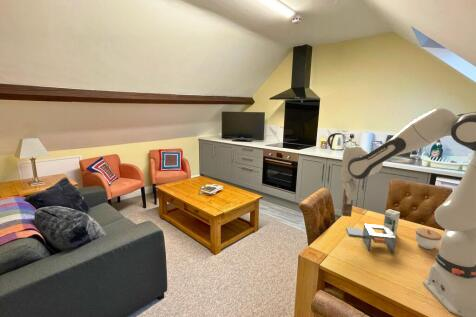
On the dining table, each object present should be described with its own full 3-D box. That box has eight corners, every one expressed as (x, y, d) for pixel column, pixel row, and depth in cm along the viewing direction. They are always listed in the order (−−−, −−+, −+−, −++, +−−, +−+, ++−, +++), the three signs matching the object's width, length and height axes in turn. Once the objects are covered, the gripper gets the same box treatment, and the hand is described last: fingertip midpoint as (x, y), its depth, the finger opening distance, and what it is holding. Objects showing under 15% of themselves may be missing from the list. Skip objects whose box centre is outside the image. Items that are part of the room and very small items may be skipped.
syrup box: (381, 233, 139) (385, 211, 136) (386, 230, 142) (389, 208, 139) (392, 238, 135) (396, 214, 131) (396, 234, 138) (400, 211, 135)
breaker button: (384, 243, 124) (385, 240, 124) (374, 242, 125) (374, 239, 125) (381, 238, 129) (382, 235, 128) (371, 237, 130) (371, 234, 130)
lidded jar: (429, 240, 132) (432, 225, 130) (444, 252, 121) (447, 236, 119) (409, 239, 133) (411, 224, 131) (421, 251, 123) (424, 235, 120)
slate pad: (363, 237, 136) (364, 235, 135) (348, 235, 138) (348, 233, 137) (360, 230, 143) (360, 228, 143) (346, 228, 145) (346, 227, 145)
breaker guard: (393, 253, 121) (396, 238, 119) (367, 250, 124) (369, 234, 122) (386, 240, 132) (388, 226, 130) (362, 238, 135) (364, 223, 133)
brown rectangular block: (351, 216, 126) (353, 191, 123) (342, 215, 127) (345, 191, 124) (349, 213, 130) (352, 189, 126) (341, 212, 131) (344, 188, 127)
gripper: (361, 183, 113) (358, 210, 116) (352, 171, 132) (350, 195, 135) (347, 182, 114) (344, 208, 118) (340, 171, 134) (338, 194, 137)
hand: (347, 201), depth 127 cm, fingers closed on brown rectangular block, 4 cm apart
